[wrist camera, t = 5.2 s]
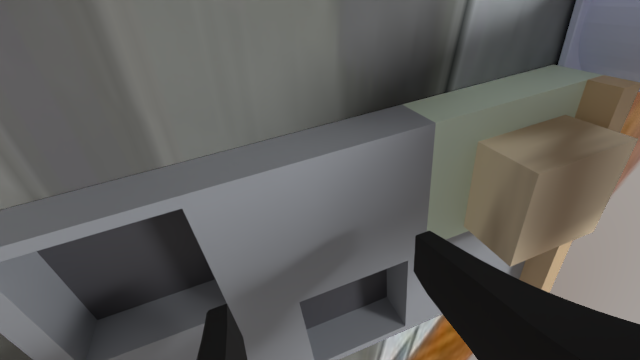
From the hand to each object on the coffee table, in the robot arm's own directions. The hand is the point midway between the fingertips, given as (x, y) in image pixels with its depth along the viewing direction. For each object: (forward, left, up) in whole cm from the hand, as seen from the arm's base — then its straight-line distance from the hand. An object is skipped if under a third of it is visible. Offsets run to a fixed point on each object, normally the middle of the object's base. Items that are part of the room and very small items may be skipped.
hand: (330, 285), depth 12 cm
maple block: (-11, 0, -2) cm, 11 cm away
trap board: (-2, +3, -5) cm, 6 cm away
